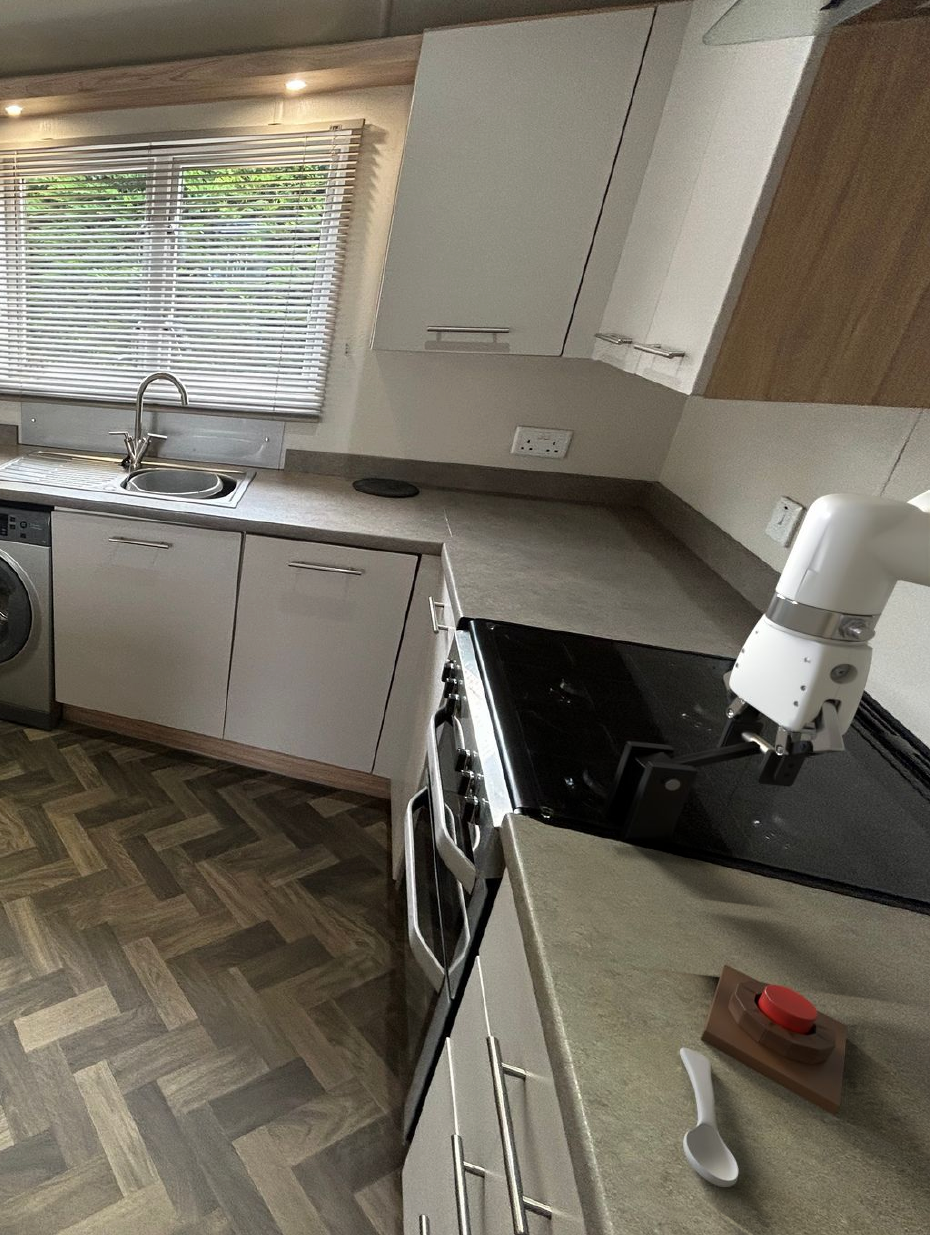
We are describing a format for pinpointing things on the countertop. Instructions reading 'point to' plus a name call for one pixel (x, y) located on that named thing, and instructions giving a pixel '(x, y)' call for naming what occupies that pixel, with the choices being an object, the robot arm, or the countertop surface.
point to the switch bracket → (648, 794)
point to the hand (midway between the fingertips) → (752, 765)
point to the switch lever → (711, 753)
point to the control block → (776, 1042)
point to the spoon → (706, 1127)
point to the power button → (787, 1009)
